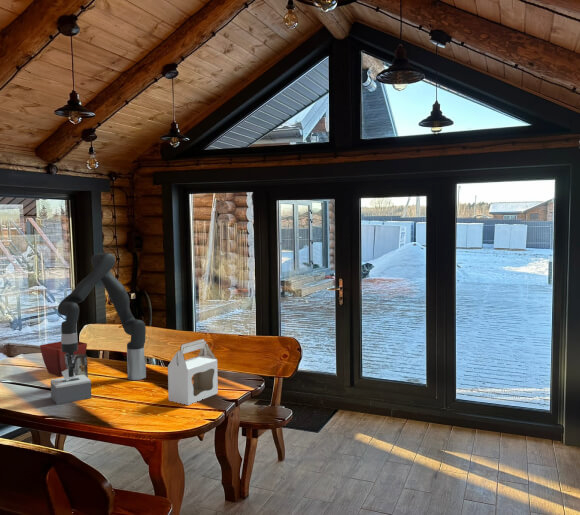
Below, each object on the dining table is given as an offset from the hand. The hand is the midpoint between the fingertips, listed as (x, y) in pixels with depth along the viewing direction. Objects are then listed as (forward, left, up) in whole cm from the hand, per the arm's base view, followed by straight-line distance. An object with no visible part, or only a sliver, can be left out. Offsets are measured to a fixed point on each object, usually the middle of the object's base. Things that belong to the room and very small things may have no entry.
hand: (70, 376), depth 265 cm
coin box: (0, 0, -11) cm, 11 cm away
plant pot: (-8, -50, -11) cm, 52 cm away
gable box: (-50, +35, -11) cm, 62 cm away
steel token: (+3, 0, 0) cm, 3 cm away
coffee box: (-8, -19, -11) cm, 23 cm away
